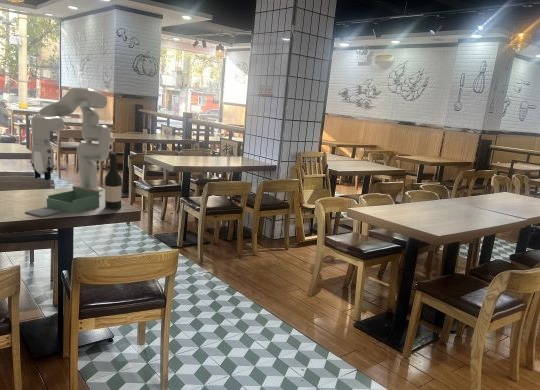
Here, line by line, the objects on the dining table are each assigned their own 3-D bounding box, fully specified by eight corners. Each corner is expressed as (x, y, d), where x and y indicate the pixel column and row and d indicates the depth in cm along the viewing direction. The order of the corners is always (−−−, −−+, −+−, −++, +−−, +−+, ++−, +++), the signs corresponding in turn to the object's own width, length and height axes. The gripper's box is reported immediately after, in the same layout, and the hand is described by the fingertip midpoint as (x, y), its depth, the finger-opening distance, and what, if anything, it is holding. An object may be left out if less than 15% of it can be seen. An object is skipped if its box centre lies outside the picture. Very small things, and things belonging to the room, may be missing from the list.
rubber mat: (45, 208, 226) (45, 207, 226) (62, 212, 222) (62, 210, 222) (24, 213, 216) (24, 211, 215) (42, 217, 211) (42, 215, 211)
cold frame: (74, 201, 245) (74, 186, 243) (99, 206, 238) (99, 190, 236) (46, 207, 228) (46, 191, 226) (72, 213, 221) (72, 196, 219)
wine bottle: (119, 209, 234) (119, 154, 228) (103, 209, 233) (103, 153, 227) (122, 205, 242) (122, 152, 236) (106, 205, 241) (106, 151, 235)
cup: (36, 194, 211) (34, 151, 207) (33, 191, 217) (32, 149, 213) (52, 193, 216) (51, 151, 211) (49, 190, 221) (48, 149, 217)
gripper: (60, 143, 211) (61, 180, 215) (35, 140, 218) (36, 175, 222) (47, 144, 205) (48, 182, 208) (21, 140, 211) (23, 177, 215)
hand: (42, 178), depth 215 cm, fingers closed on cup, 6 cm apart
